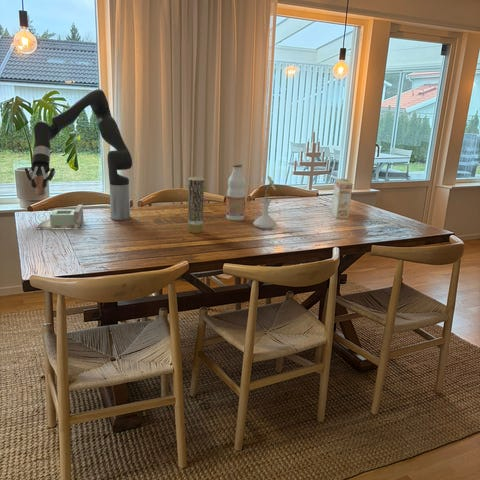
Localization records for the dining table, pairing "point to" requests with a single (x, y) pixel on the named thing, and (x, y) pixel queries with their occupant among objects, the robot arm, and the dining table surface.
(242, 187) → the fruit juice
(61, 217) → the socket block
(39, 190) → the dowel
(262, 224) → the flower in vase
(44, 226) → the backstop board
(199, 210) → the paper tube
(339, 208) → the coffeecake box
